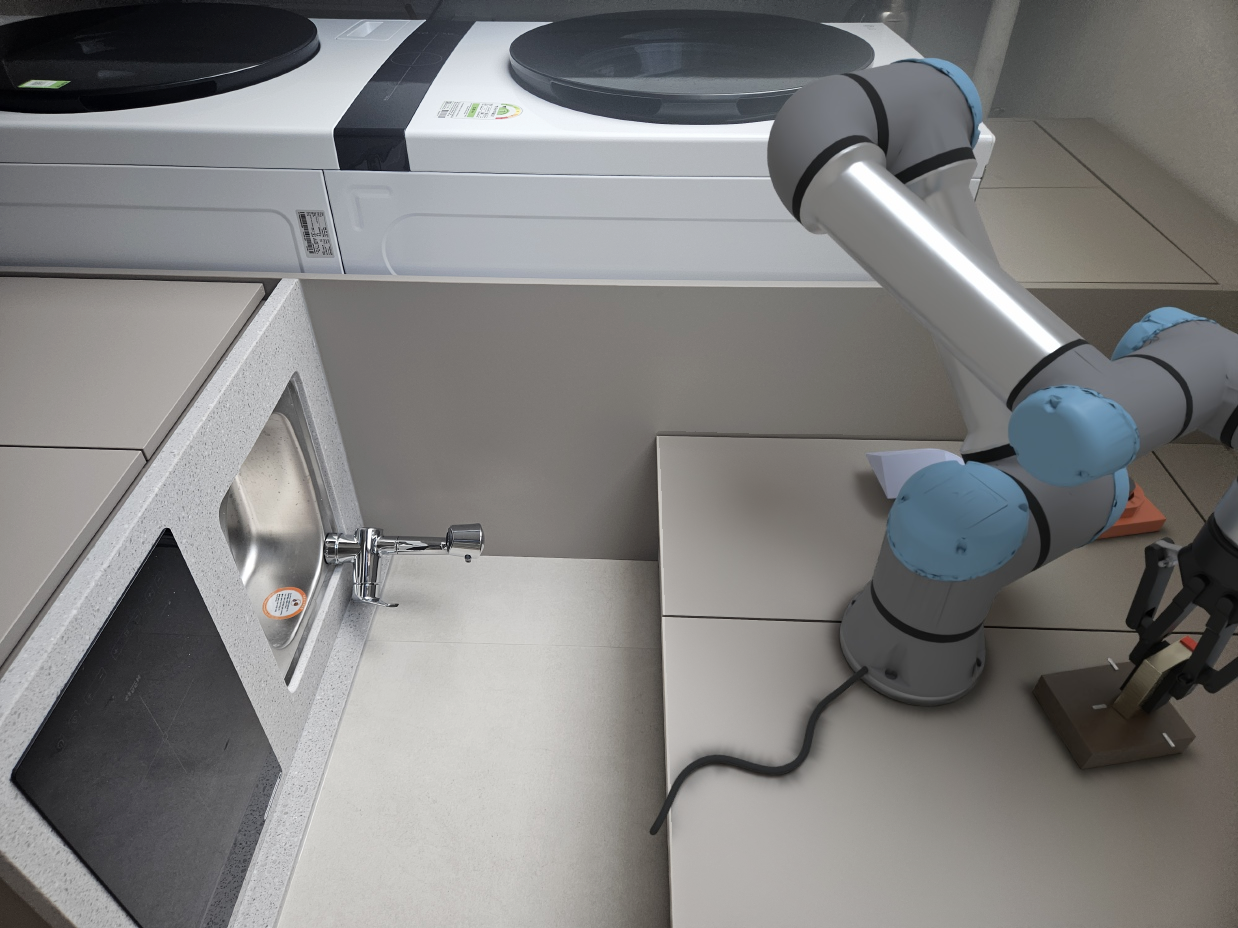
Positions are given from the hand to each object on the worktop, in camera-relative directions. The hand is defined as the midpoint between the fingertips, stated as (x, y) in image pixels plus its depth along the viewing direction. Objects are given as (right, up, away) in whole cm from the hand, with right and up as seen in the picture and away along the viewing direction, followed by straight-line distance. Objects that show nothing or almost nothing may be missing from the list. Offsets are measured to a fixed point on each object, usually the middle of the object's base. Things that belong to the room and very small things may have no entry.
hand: (1143, 695), depth 81 cm
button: (+11, +20, +23) cm, 32 cm away
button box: (+11, +17, +25) cm, 32 cm away
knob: (0, -1, +1) cm, 1 cm away
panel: (-1, -3, +2) cm, 4 cm away
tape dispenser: (-12, +20, +29) cm, 37 cm away
